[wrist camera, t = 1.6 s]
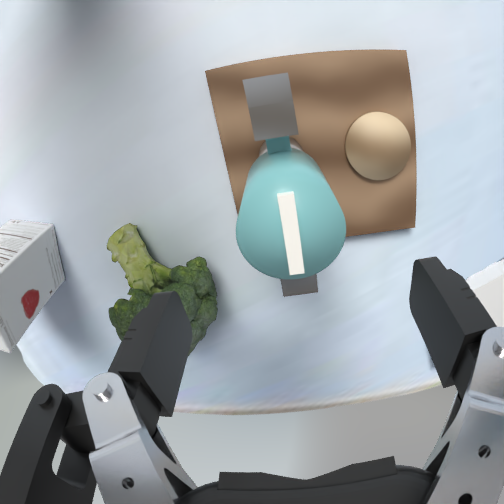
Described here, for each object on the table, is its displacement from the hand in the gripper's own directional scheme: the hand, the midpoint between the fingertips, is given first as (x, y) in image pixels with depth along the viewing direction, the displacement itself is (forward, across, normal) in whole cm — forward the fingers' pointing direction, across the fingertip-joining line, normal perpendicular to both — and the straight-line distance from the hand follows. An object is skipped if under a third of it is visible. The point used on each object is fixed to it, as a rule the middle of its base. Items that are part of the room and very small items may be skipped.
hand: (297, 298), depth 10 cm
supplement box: (+21, +34, +5) cm, 40 cm away
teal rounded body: (+12, 0, 0) cm, 12 cm away
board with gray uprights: (+21, -4, 0) cm, 21 cm away
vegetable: (+21, +15, +11) cm, 28 cm away
